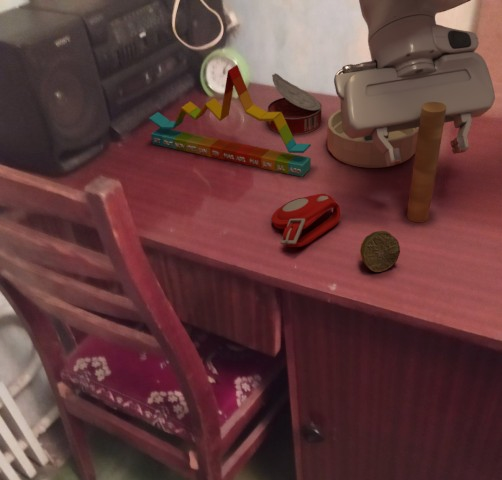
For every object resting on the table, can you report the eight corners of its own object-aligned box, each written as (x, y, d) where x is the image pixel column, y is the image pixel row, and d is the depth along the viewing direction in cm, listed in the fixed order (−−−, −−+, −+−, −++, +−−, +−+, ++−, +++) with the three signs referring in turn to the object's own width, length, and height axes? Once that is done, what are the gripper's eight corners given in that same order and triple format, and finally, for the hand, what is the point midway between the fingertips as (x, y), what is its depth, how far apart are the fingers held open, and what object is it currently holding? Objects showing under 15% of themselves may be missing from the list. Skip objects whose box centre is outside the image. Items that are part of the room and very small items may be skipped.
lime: (401, 262, 76) (406, 230, 73) (382, 281, 74) (385, 249, 70) (372, 250, 79) (375, 219, 75) (352, 268, 76) (354, 236, 73)
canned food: (286, 135, 115) (295, 80, 112) (327, 142, 110) (339, 85, 106) (248, 127, 107) (258, 69, 104) (291, 135, 101) (303, 73, 98)
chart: (152, 144, 106) (135, 58, 96) (162, 137, 108) (147, 51, 98) (301, 177, 94) (300, 82, 84) (310, 168, 96) (310, 74, 85)
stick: (423, 209, 85) (440, 100, 74) (431, 220, 83) (450, 109, 72) (403, 213, 85) (417, 103, 74) (411, 224, 83) (427, 113, 71)
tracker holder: (261, 206, 86) (323, 179, 86) (271, 232, 89) (332, 206, 88) (278, 234, 76) (349, 204, 76) (289, 263, 78) (358, 233, 78)
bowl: (410, 125, 105) (413, 100, 101) (425, 166, 94) (429, 140, 91) (325, 129, 106) (325, 104, 103) (330, 171, 95) (330, 144, 92)
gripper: (337, 55, 73) (360, 163, 73) (488, 31, 75) (511, 136, 75) (325, 79, 79) (346, 178, 79) (465, 56, 82) (486, 153, 81)
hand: (428, 157), depth 77 cm, fingers open, 8 cm apart
